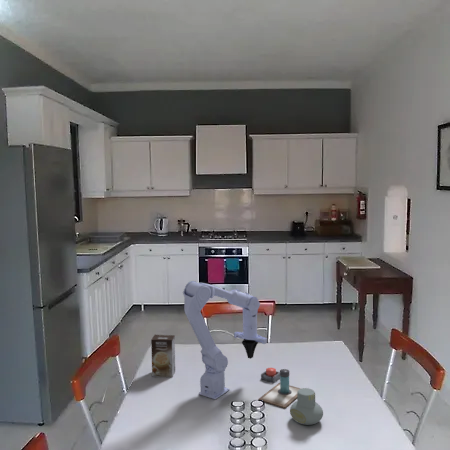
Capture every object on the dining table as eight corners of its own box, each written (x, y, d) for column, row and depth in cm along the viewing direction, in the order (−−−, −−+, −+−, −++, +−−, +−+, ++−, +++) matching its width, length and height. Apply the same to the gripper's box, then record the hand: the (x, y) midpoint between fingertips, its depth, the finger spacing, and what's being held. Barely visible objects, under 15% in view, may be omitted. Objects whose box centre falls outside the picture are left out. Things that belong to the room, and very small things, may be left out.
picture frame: (285, 408, 155) (285, 406, 155) (258, 400, 161) (258, 398, 161) (304, 391, 168) (304, 389, 168) (279, 384, 174) (279, 382, 174)
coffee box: (151, 376, 183) (150, 339, 182) (155, 370, 190) (154, 334, 188) (172, 377, 182) (171, 339, 181) (176, 371, 189) (175, 334, 187)
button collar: (273, 382, 176) (273, 377, 176) (261, 379, 179) (260, 374, 179) (281, 377, 181) (281, 372, 180) (268, 373, 184) (268, 369, 184)
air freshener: (286, 418, 149) (285, 389, 148) (302, 410, 154) (302, 382, 153) (310, 431, 140) (310, 401, 139) (327, 422, 145) (327, 393, 144)
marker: (286, 394, 164) (286, 373, 163) (278, 392, 166) (278, 371, 165) (291, 390, 167) (291, 370, 166) (282, 388, 169) (282, 368, 168)
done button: (272, 380, 177) (272, 372, 177) (264, 377, 179) (264, 370, 179) (277, 376, 180) (277, 369, 180) (269, 374, 183) (269, 366, 182)
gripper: (270, 325, 176) (271, 358, 177) (240, 319, 184) (240, 350, 185) (261, 329, 170) (262, 363, 171) (230, 323, 178) (231, 356, 179)
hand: (250, 357), depth 178 cm, fingers closed
